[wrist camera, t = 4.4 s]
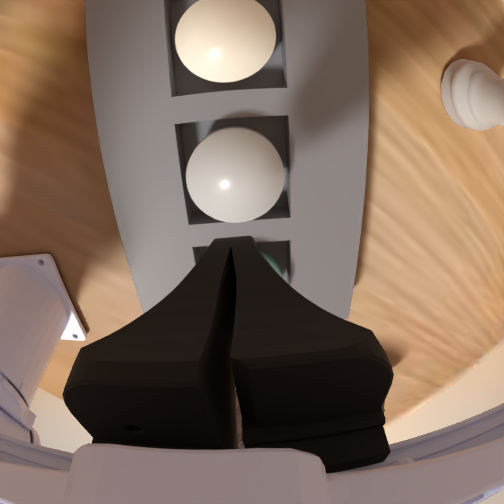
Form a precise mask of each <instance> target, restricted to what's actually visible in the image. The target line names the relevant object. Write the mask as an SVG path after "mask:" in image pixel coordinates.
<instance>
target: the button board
mask: <svg viewBox="0 0 504 504" xmlns="http://www.w3.org/2000/svg"><path fill="white" fill-rule="evenodd" d="M197 1H199V0H85V21H86V39H87V52H88V63H89V73H90V82H91V91H92V98H93V106H94V113H95V119H96V126H97V132H98V138H99V143H100V149H101V154H102V159H103V164H104V169H105V174H106V179H107V184H108V188H109V193H110V197H111V201H112V205H113V210H114V214H115V218H116V222H117V226H118V229H119V233H120V237H121V241H122V244H123V248H124V252H125V255H126V259H127V262H128V265H129V269H130V272H131V275H132V279H133V282H134V285H135V288H136V291H137V294H138V298H139V301H140V304H141V307H142V310H143V313H145V312H147V311H148V310H149V309H151V308H152V307H153V306H155V305H156V304H157V303H159V302H160V301H161V300H162V299H163V298H165V297H166V296H167V295H168V294H169V293H170V292H171V291H172V290H173V289H174V288H175V287H177V285H178V284H179V283H180V282H181V281H182V280H183V279H184V278H185V277H186V275H187V274H188V273H189V272H190V271H191V270H192V268H193V267H194V266H195V264H196V263H197V262H198V261H199V259H200V258H201V257H202V255H203V254H204V252H205V251H206V250H207V248H208V247H209V245H210V244H211V242H212V241H213V240H214V239H216V238H228V237H240V236H251V237H253V238H254V241H255V243H256V245H257V247H258V248H259V250H260V251H263V252H265V253H267V254H268V255H270V256H271V257H272V258H274V259H275V260H276V262H277V263H278V264H279V266H280V268H281V270H282V274H283V279H284V280H285V281H286V282H287V283H288V284H289V285H290V286H291V287H292V288H294V289H295V290H296V291H297V292H298V293H300V294H301V295H302V296H304V297H305V298H307V299H308V300H310V301H311V302H313V303H314V304H316V305H317V306H319V307H321V308H322V309H324V310H326V311H328V312H330V313H332V314H334V315H336V316H338V317H340V318H342V319H348V318H349V312H350V306H351V300H352V294H353V288H354V281H355V274H356V267H357V260H358V252H359V244H360V236H361V227H362V217H363V207H364V196H365V184H366V169H367V152H368V128H369V52H368V30H367V14H366V1H365V0H255V1H256V2H258V3H259V4H260V5H262V6H263V7H264V8H265V9H266V11H267V12H268V13H269V15H270V16H271V18H272V20H273V23H274V26H275V31H276V42H275V47H274V50H273V52H272V55H271V57H270V58H269V60H268V61H267V63H266V64H265V65H264V66H263V67H262V68H261V69H260V70H259V71H257V72H256V73H254V74H253V75H251V76H249V77H247V78H244V79H242V80H238V81H234V82H214V81H209V80H206V79H203V78H201V77H199V76H197V75H195V74H194V73H192V72H191V71H190V70H189V69H188V68H187V67H186V66H185V65H184V64H183V62H182V61H181V59H180V57H179V55H178V53H177V50H176V45H175V34H176V29H177V25H178V23H179V21H180V19H181V17H182V16H183V14H184V13H185V12H186V11H187V9H189V8H190V7H191V6H192V5H193V4H194V3H196V2H197ZM229 126H243V127H247V128H251V129H254V130H256V131H258V132H260V133H261V134H263V135H264V136H265V137H267V138H268V139H269V140H270V141H271V143H272V144H273V145H274V147H275V148H276V150H277V152H278V154H279V156H280V158H281V161H282V163H283V167H284V185H283V189H282V192H281V195H280V197H279V199H278V200H277V202H276V203H275V204H274V205H273V207H272V208H271V209H270V210H268V211H267V212H266V213H265V214H263V215H262V216H260V217H258V218H256V219H253V220H250V221H246V222H240V223H230V222H224V221H220V220H217V219H214V218H212V217H210V216H209V215H207V214H206V213H204V212H203V211H202V210H201V209H199V207H198V206H197V205H196V204H195V203H194V201H193V200H192V198H191V196H190V194H189V191H188V188H187V184H186V170H187V165H188V162H189V159H190V157H191V155H192V153H193V152H194V150H195V148H196V147H197V145H198V144H199V143H200V141H201V140H202V139H203V138H204V137H206V136H207V135H208V134H210V133H212V132H213V131H215V130H218V129H220V128H224V127H229Z"/></svg>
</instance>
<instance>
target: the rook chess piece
mask: <svg viewBox="0 0 504 504" xmlns="http://www.w3.org/2000/svg"><path fill="white" fill-rule="evenodd" d="M441 96H442V101H443V104H444V106H445V109H446V112H447V114H448V115H449V116H450V117H451V119H452V120H453V121H454V123H456V124H458V125H460V126H461V127H463V128H470V129H471V130H487V129H489V128H493V127H495V126H497V125H500V126H504V79H502V78H500V77H499V76H498V75H497V74H496V73H494V71H493V70H491V69H490V68H489V67H487V66H486V65H485V64H483V63H481V62H477V61H472V60H467V59H459V60H457V61H454V62H452V63H451V64H450V65H449V67H448V68H447V69H446V70H445V72H444V76H443V79H442V83H441Z"/></svg>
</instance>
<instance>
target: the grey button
mask: <svg viewBox="0 0 504 504" xmlns="http://www.w3.org/2000/svg"><path fill="white" fill-rule="evenodd" d="M186 184H187V188H188V191H189V194H190V196H191V198H192V200H193V201H194V203H195V204H196V205H197V206H198V207H199V209H201V210H202V211H203V212H204V213H206V214H207V215H209V216H210V217H212V218H214V219H217V220H220V221H224V222H230V223H240V222H246V221H250V220H253V219H256V218H258V217H260V216H262V215H263V214H265V213H266V212H267V211H268V210H270V209H271V208H272V207H273V205H274V204H275V203H276V202H277V200H278V199H279V197H280V195H281V192H282V189H283V185H284V167H283V163H282V161H281V158H280V156H279V154H278V152H277V150H276V148H275V147H274V145H273V144H272V143H271V141H270V140H269V139H268V138H267V137H265V136H264V135H263V134H261V133H260V132H258V131H256V130H254V129H251V128H247V127H243V126H229V127H224V128H220V129H218V130H215V131H213V132H212V133H210V134H208V135H207V136H206V137H204V138H203V139H202V140H201V141H200V143H199V144H198V145H197V147H196V148H195V150H194V152H193V153H192V155H191V157H190V159H189V162H188V165H187V170H186Z"/></svg>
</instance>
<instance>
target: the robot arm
mask: <svg viewBox="0 0 504 504" xmlns="http://www.w3.org/2000/svg"><path fill="white" fill-rule="evenodd" d="M41 260H42V261H43V262H44V263H43V262H42V261H41ZM86 337H87V334H86V332H85V330H84V328H83V325H82V323H81V321H80V319H79V317H78V315H77V313H76V311H75V309H74V306H73V304H72V302H71V300H70V298H69V295H68V293H67V291H66V288H65V286H64V284H63V281H62V279H61V276H60V274H59V271H58V269H57V266H56V264H55V261H54V259H53V257H52V256H51V255H50V254H35V255H25V256H15V257H4V258H0V504H478V503H480V502H481V501H483V500H485V499H487V498H489V497H491V496H492V495H494V494H496V493H497V492H499V491H501V490H503V489H504V403H503V404H501V405H499V406H497V407H494V408H492V409H490V410H488V411H485V412H483V413H481V414H479V415H476V416H474V417H471V418H469V419H466V420H464V421H461V422H459V423H456V424H454V425H451V426H448V427H445V428H442V429H439V430H436V431H434V432H431V433H427V434H424V435H421V436H418V437H415V438H412V439H408V440H405V441H401V442H398V443H394V444H390V445H389V444H388V441H387V438H386V435H385V431H384V428H383V425H384V424H385V416H384V413H383V410H382V405H383V403H384V401H385V399H386V396H387V394H388V392H389V389H390V387H391V385H392V380H393V376H394V374H393V370H392V366H391V364H390V362H389V359H388V357H387V355H386V353H385V351H384V349H383V348H382V346H381V344H380V343H379V341H378V340H377V338H376V337H375V335H374V333H373V332H372V331H371V330H369V329H367V328H364V327H362V326H359V325H357V324H354V323H351V322H349V321H346V320H344V319H342V318H340V317H338V316H336V315H334V314H332V313H330V312H328V311H326V310H324V309H322V308H321V307H319V306H317V305H316V304H314V303H313V302H311V301H310V300H308V299H307V298H305V297H304V296H302V295H301V294H300V293H298V292H297V291H296V290H295V289H294V288H292V287H291V286H290V285H289V284H288V283H287V282H286V281H285V280H284V279H283V278H282V277H281V276H280V275H279V274H278V273H277V272H276V271H275V270H274V268H273V267H272V266H271V265H270V264H269V262H268V261H267V260H266V258H265V257H264V256H263V254H262V253H261V251H260V250H259V248H258V247H257V245H256V243H255V241H254V238H253V237H251V236H240V237H228V238H216V239H214V240H213V241H212V242H211V244H210V245H209V247H208V248H207V250H206V251H205V252H204V254H203V255H202V257H201V258H200V259H199V261H198V262H197V263H196V264H195V266H194V267H193V268H192V270H191V271H190V272H189V273H188V274H187V275H186V277H185V278H184V279H183V280H182V281H181V282H180V283H179V284H178V285H177V287H175V288H174V289H173V290H172V291H171V292H170V293H169V294H168V295H167V296H166V297H165V298H163V299H162V300H161V301H160V302H159V303H157V304H156V305H155V306H153V307H152V308H151V309H149V310H148V311H147V312H145V313H144V314H143V315H141V316H140V317H138V318H137V319H135V320H134V321H132V322H131V323H129V324H128V325H126V326H124V327H122V328H121V329H119V330H117V331H115V332H114V333H112V334H110V335H108V336H106V337H104V338H102V339H100V340H97V341H95V342H93V343H91V344H89V345H87V346H85V347H82V348H81V349H80V351H79V353H78V355H77V358H76V360H75V362H74V365H73V367H72V370H71V372H70V375H69V377H68V380H67V383H66V385H65V388H64V392H63V398H64V402H65V404H66V406H67V407H68V409H69V410H70V412H71V413H72V415H73V416H74V417H75V418H76V419H77V420H78V421H79V422H80V424H81V425H82V426H83V427H84V428H85V429H86V430H87V431H88V433H89V434H91V436H92V437H93V440H92V444H90V443H88V444H86V445H83V446H81V447H80V448H79V449H77V450H76V451H75V452H74V453H69V452H65V451H60V450H56V449H52V448H48V447H44V446H41V444H40V439H39V436H38V433H37V431H36V430H35V429H34V428H33V427H32V426H33V424H34V421H35V418H36V415H35V414H34V413H33V412H32V411H30V409H29V408H30V405H31V403H32V400H33V398H34V395H35V393H36V390H37V388H38V386H39V384H40V381H41V379H42V377H43V375H44V372H45V370H46V368H47V366H48V364H49V362H50V359H51V357H52V355H53V353H54V351H55V349H56V347H57V345H58V343H59V341H60V339H63V340H85V339H86ZM235 387H236V392H237V397H238V402H239V407H240V411H241V416H242V441H243V445H244V446H245V449H238V435H237V417H236V395H235Z"/></svg>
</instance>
